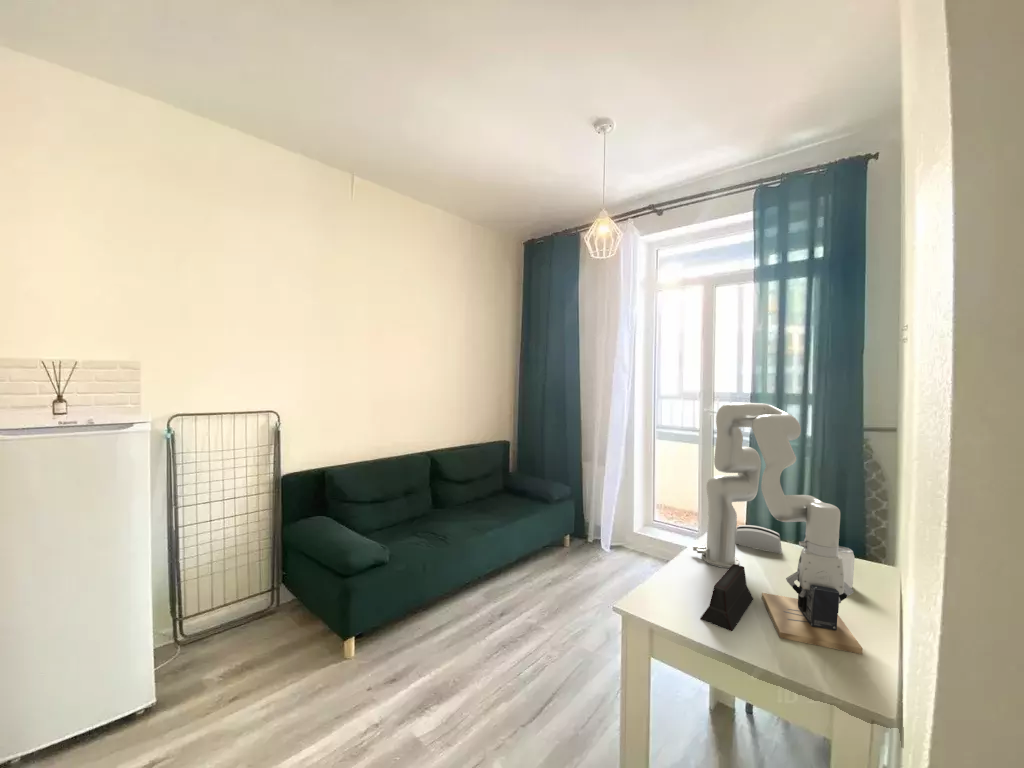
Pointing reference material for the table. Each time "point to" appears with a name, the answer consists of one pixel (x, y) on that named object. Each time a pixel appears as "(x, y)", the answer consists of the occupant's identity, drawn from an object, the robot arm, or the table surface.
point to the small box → (822, 607)
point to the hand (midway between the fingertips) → (817, 611)
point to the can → (847, 564)
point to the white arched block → (758, 538)
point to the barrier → (729, 599)
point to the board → (807, 626)
